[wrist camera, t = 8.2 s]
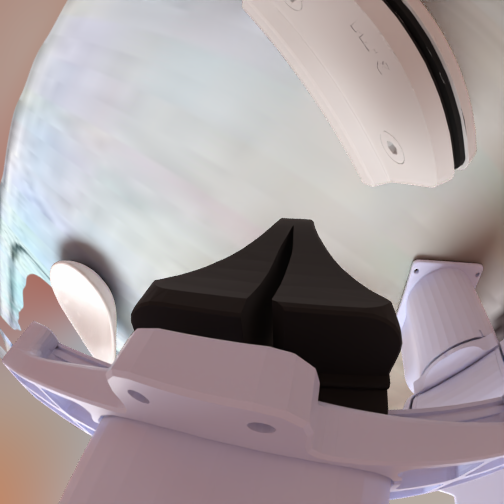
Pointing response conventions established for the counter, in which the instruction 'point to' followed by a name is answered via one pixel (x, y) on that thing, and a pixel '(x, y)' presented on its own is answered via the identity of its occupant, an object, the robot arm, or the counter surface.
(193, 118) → the counter surface
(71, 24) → the counter surface
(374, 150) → the white curved piece
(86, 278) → the spoon rest
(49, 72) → the counter surface
